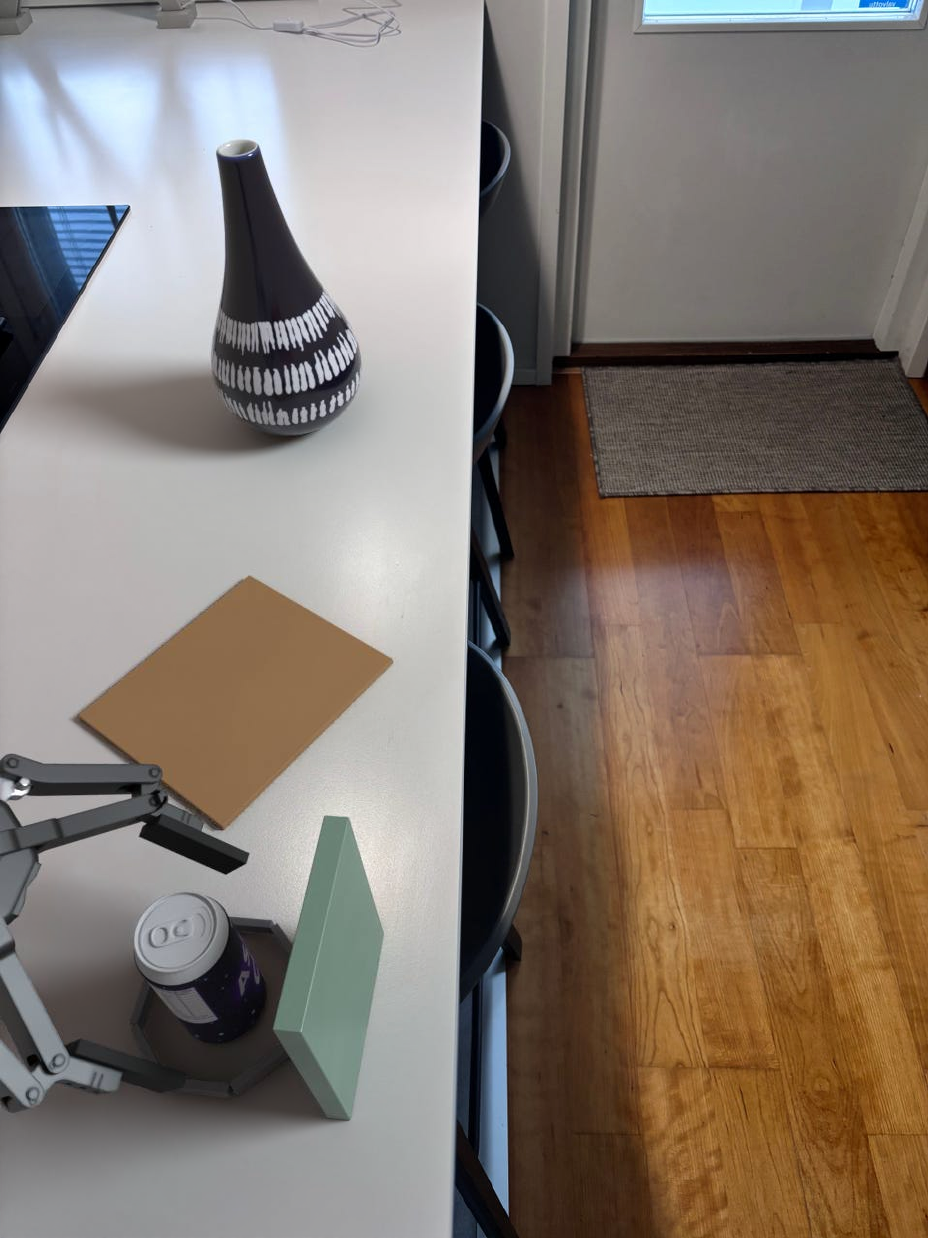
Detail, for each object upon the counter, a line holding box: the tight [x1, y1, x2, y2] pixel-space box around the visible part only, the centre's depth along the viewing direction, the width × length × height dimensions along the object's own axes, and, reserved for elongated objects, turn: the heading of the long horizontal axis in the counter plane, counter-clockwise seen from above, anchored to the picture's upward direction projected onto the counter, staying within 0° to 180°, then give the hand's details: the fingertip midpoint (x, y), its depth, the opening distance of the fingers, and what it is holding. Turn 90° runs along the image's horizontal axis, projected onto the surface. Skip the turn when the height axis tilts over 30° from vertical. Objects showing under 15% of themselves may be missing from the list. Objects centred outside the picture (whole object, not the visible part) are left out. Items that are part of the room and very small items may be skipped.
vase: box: [210, 139, 363, 437], centre depth 96 cm, size 16×16×30 cm
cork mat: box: [78, 574, 394, 831], centre depth 81 cm, size 20×18×1 cm
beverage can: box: [133, 890, 268, 1045], centre depth 59 cm, size 6×6×12 cm
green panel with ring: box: [128, 815, 385, 1121], centre depth 57 cm, size 15×12×16 cm
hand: (208, 966), depth 59 cm, fingers open, 13 cm apart
